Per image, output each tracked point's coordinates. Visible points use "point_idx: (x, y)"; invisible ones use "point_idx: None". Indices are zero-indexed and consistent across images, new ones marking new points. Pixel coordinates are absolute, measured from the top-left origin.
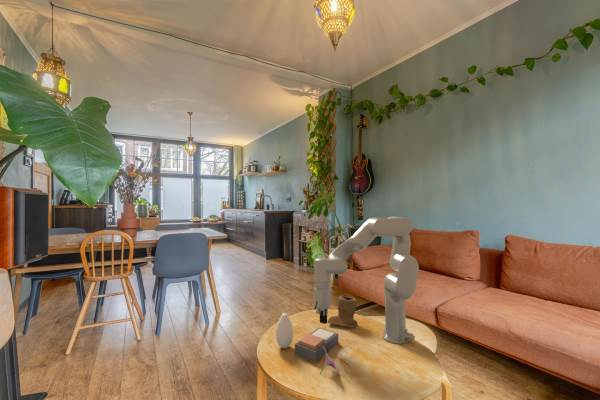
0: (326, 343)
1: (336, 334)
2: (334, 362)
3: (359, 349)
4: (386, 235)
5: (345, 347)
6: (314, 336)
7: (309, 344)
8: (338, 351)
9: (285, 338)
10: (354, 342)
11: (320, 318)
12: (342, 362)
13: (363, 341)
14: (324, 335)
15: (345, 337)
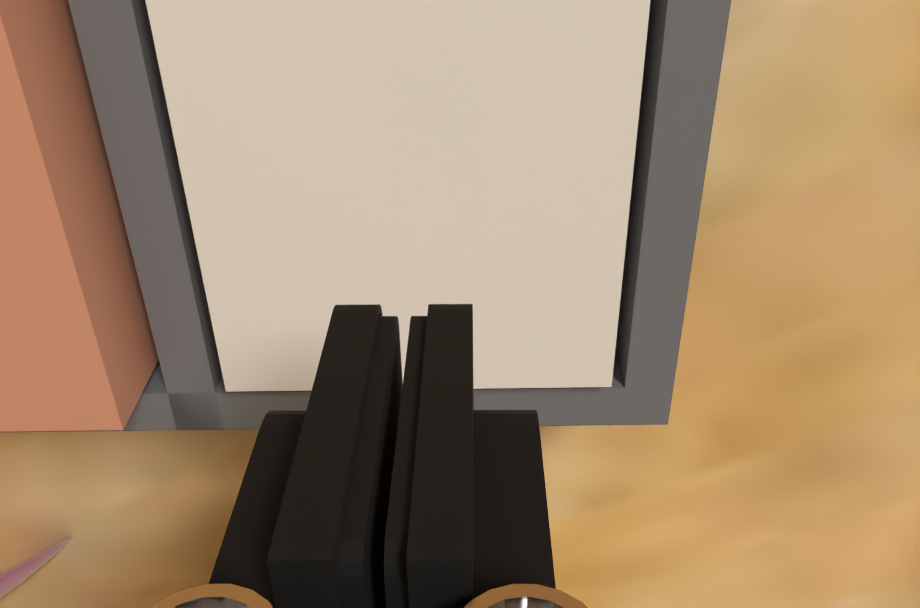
0: (153, 425)
1: (606, 414)
2: (11, 569)
3: (618, 582)
4: None
5: (560, 442)
6: (8, 207)
7: None
8: None
9: None
10: (782, 476)
11: (242, 496)
12: (188, 554)
13: (872, 548)
14: (367, 271)
15: (898, 312)
